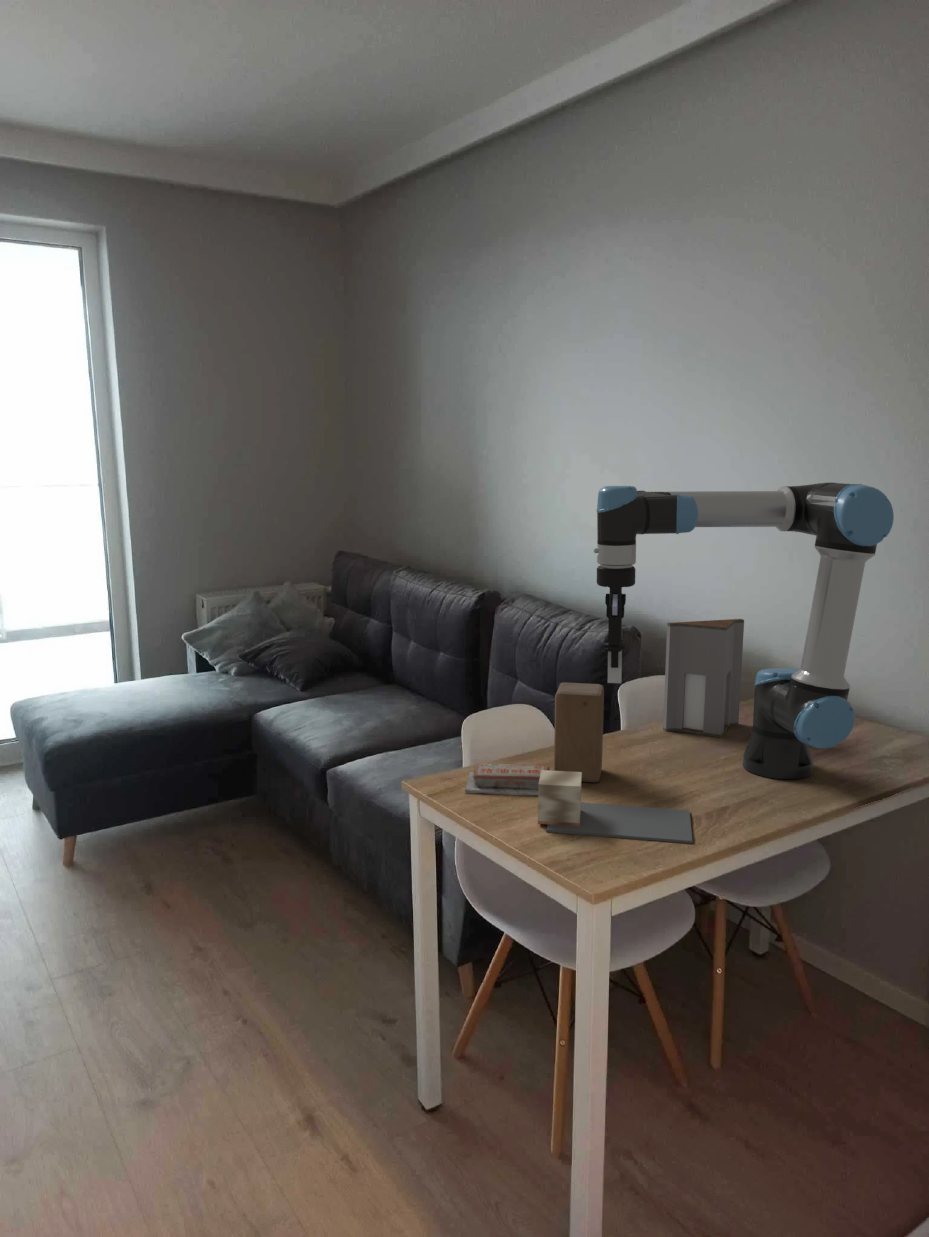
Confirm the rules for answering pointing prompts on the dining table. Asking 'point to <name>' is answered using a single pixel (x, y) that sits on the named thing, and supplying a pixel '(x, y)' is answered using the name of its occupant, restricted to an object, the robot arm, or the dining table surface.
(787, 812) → the dining table surface
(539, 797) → the cube
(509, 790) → the packaged product
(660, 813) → the rubber mat
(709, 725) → the cabinet
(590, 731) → the wooden block
